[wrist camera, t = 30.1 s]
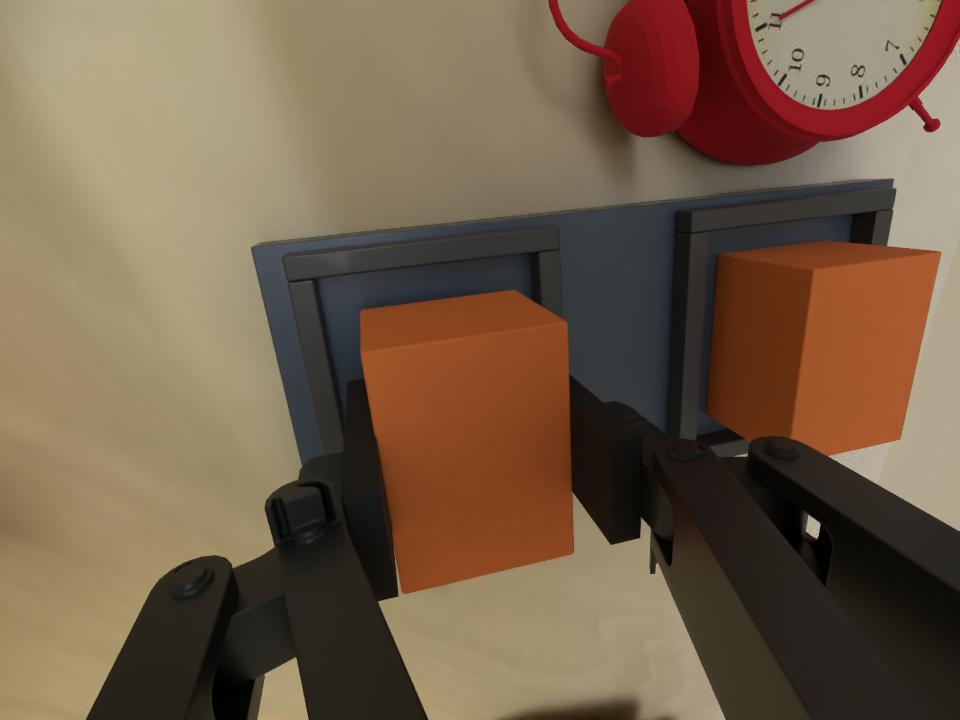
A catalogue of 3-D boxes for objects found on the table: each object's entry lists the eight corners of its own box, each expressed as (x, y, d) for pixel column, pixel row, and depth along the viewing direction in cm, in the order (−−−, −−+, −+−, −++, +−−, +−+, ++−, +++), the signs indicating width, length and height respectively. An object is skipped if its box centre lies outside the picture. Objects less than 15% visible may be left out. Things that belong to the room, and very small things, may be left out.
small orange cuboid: (823, 240, 21) (942, 251, 16) (802, 395, 23) (901, 439, 19) (717, 254, 20) (814, 269, 15) (705, 414, 22) (787, 466, 18)
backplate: (860, 179, 22) (920, 177, 20) (824, 411, 26) (870, 432, 23) (259, 242, 17) (243, 250, 15) (321, 515, 21) (316, 555, 19)
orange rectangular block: (515, 288, 16) (568, 321, 12) (526, 473, 19) (575, 554, 14) (359, 309, 15) (359, 352, 11) (392, 501, 18) (402, 596, 14)
